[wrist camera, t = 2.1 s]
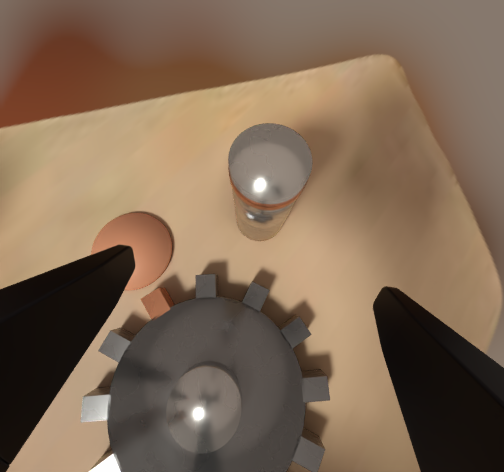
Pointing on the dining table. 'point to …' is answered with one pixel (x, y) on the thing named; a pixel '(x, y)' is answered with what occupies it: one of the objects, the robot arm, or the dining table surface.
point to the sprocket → (207, 389)
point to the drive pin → (267, 177)
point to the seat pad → (138, 245)
